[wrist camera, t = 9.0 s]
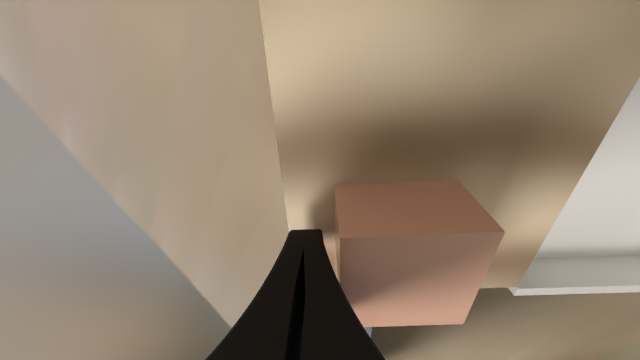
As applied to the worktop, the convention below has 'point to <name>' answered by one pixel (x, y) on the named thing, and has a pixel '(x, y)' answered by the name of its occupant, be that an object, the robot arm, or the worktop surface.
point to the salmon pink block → (412, 251)
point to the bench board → (448, 103)
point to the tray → (597, 221)
